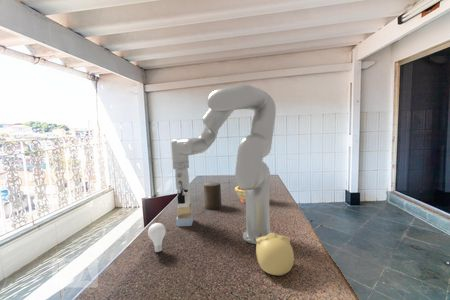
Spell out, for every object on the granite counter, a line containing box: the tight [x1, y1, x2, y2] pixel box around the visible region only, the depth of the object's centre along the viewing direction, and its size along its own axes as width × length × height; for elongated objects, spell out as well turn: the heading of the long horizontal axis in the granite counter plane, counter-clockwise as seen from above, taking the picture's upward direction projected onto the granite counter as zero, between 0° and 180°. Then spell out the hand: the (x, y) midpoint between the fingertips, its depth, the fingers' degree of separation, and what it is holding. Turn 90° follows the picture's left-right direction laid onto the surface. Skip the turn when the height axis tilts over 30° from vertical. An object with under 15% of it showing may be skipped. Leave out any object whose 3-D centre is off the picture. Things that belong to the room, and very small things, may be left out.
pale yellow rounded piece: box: [255, 232, 295, 276], centre depth 73 cm, size 12×12×11 cm
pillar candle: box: [203, 181, 222, 211], centre depth 133 cm, size 10×10×15 cm
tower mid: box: [176, 202, 192, 219], centre depth 112 cm, size 6×6×5 cm
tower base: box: [175, 212, 194, 227], centre depth 112 cm, size 7×7×4 cm
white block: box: [176, 191, 191, 208], centre depth 111 cm, size 5×5×6 cm
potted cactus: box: [234, 185, 246, 204], centre depth 141 cm, size 15×15×25 cm
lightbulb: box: [147, 222, 166, 253], centre depth 87 cm, size 6×6×11 cm
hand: (183, 200), depth 111 cm, fingers open, 9 cm apart
